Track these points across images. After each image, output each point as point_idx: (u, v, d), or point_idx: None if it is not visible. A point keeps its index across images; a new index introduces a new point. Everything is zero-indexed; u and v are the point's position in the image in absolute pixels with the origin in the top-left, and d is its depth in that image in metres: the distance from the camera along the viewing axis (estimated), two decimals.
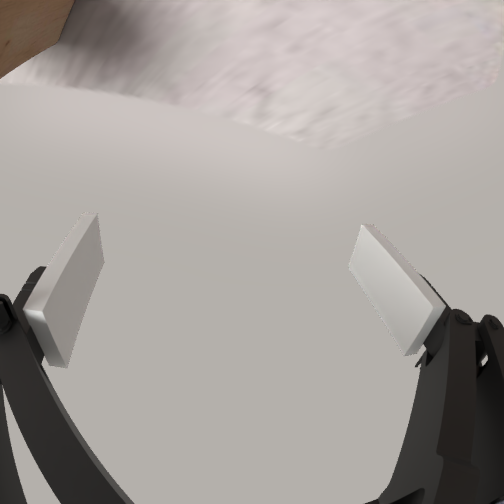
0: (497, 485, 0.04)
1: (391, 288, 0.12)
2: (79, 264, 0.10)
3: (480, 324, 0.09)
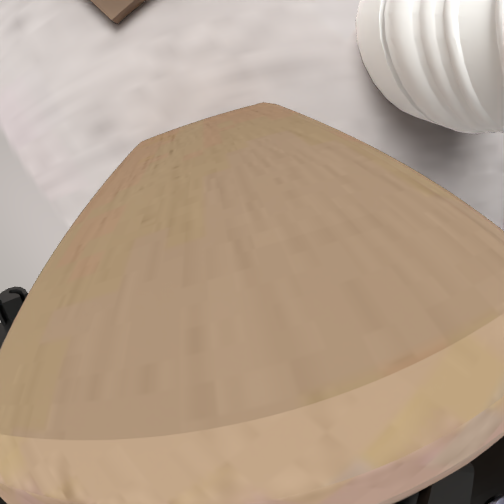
0: (493, 483, 0.04)
1: None
2: None
3: None
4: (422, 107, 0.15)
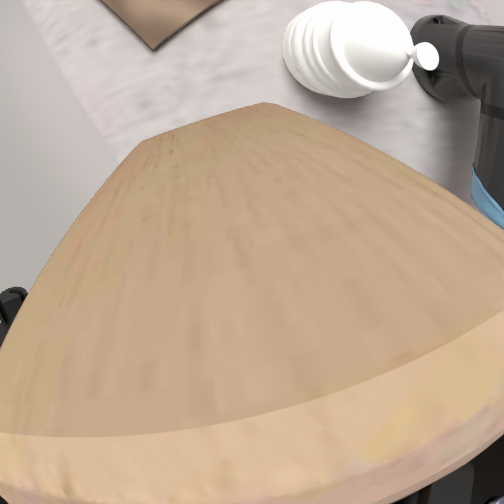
0: (493, 483, 0.04)
1: None
2: None
3: None
4: (315, 86, 0.31)
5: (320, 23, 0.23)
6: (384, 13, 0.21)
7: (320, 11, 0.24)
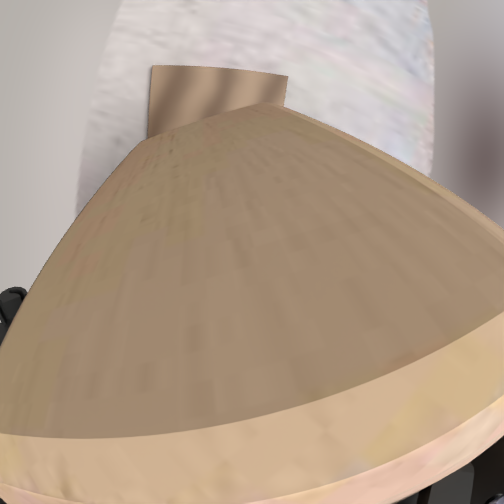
0: (493, 483, 0.04)
1: None
2: None
3: None
4: None
5: None
6: None
7: None
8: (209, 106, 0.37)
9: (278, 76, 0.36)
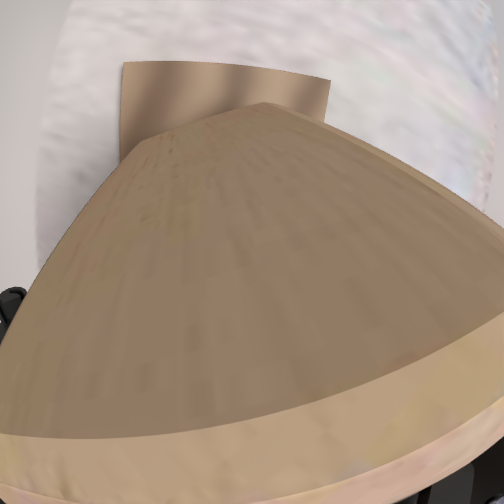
0: (493, 483, 0.04)
1: None
2: None
3: None
4: None
5: None
6: None
7: None
8: None
9: (317, 79, 0.23)
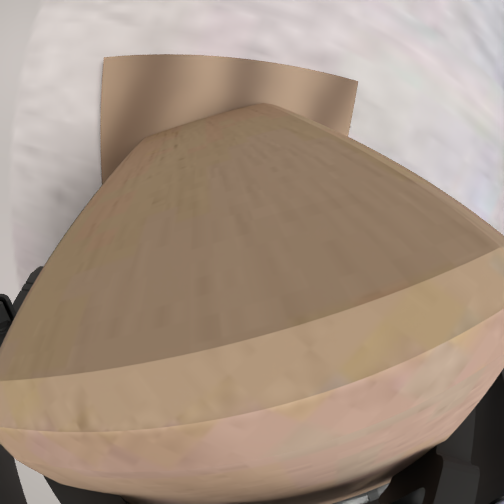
0: (497, 485, 0.04)
1: None
2: None
3: None
4: None
5: None
6: None
7: None
8: None
9: (342, 80, 0.19)
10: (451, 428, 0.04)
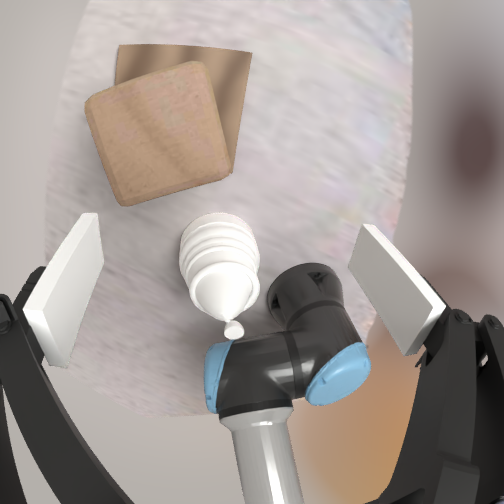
0: (497, 485, 0.04)
1: (391, 288, 0.12)
2: (79, 264, 0.10)
3: (480, 324, 0.09)
4: None
5: (207, 252, 0.42)
6: (250, 278, 0.42)
7: (218, 240, 0.43)
8: None
9: (242, 52, 0.34)
10: (198, 110, 0.20)
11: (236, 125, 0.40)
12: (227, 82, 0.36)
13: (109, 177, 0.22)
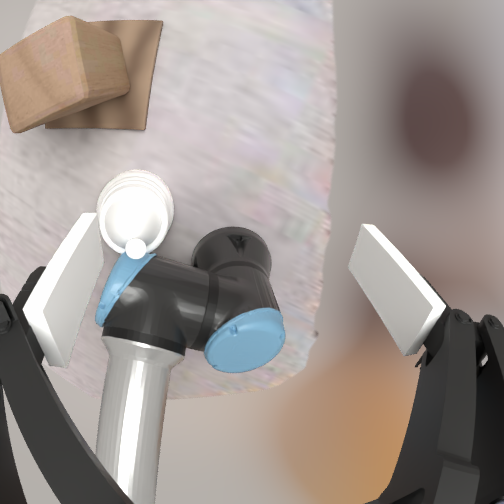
0: (497, 485, 0.04)
1: (391, 288, 0.12)
2: (79, 264, 0.10)
3: (480, 324, 0.09)
4: None
5: (119, 186, 0.40)
6: (157, 206, 0.40)
7: (131, 178, 0.41)
8: None
9: (153, 21, 0.33)
10: (63, 49, 0.19)
11: (147, 85, 0.39)
12: (140, 47, 0.35)
13: (6, 109, 0.20)
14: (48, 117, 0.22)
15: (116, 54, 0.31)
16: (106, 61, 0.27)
